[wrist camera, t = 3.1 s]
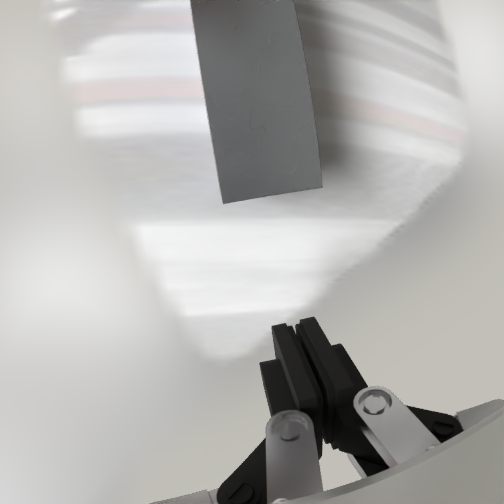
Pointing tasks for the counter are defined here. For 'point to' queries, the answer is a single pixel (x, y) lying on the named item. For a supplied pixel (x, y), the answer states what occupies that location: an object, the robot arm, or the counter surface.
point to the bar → (256, 97)
